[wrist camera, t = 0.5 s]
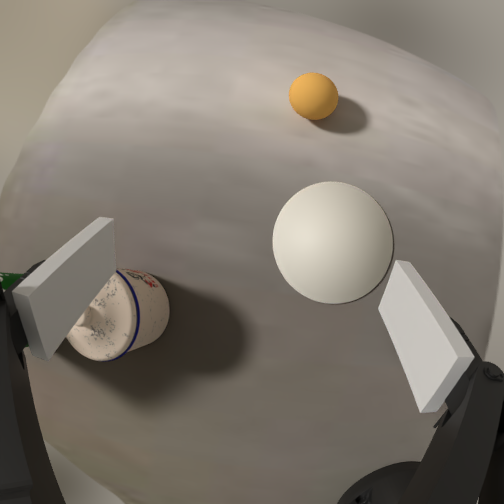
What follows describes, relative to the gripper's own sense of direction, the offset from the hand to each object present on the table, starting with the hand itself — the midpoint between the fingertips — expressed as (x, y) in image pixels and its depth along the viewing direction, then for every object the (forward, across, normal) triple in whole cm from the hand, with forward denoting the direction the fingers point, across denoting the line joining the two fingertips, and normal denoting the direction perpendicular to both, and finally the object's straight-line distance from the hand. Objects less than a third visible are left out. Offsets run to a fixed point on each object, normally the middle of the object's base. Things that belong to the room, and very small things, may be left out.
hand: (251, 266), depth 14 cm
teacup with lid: (+16, +13, +16) cm, 26 cm away
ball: (+24, -4, -9) cm, 26 cm away
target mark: (+18, -8, +6) cm, 21 cm away
